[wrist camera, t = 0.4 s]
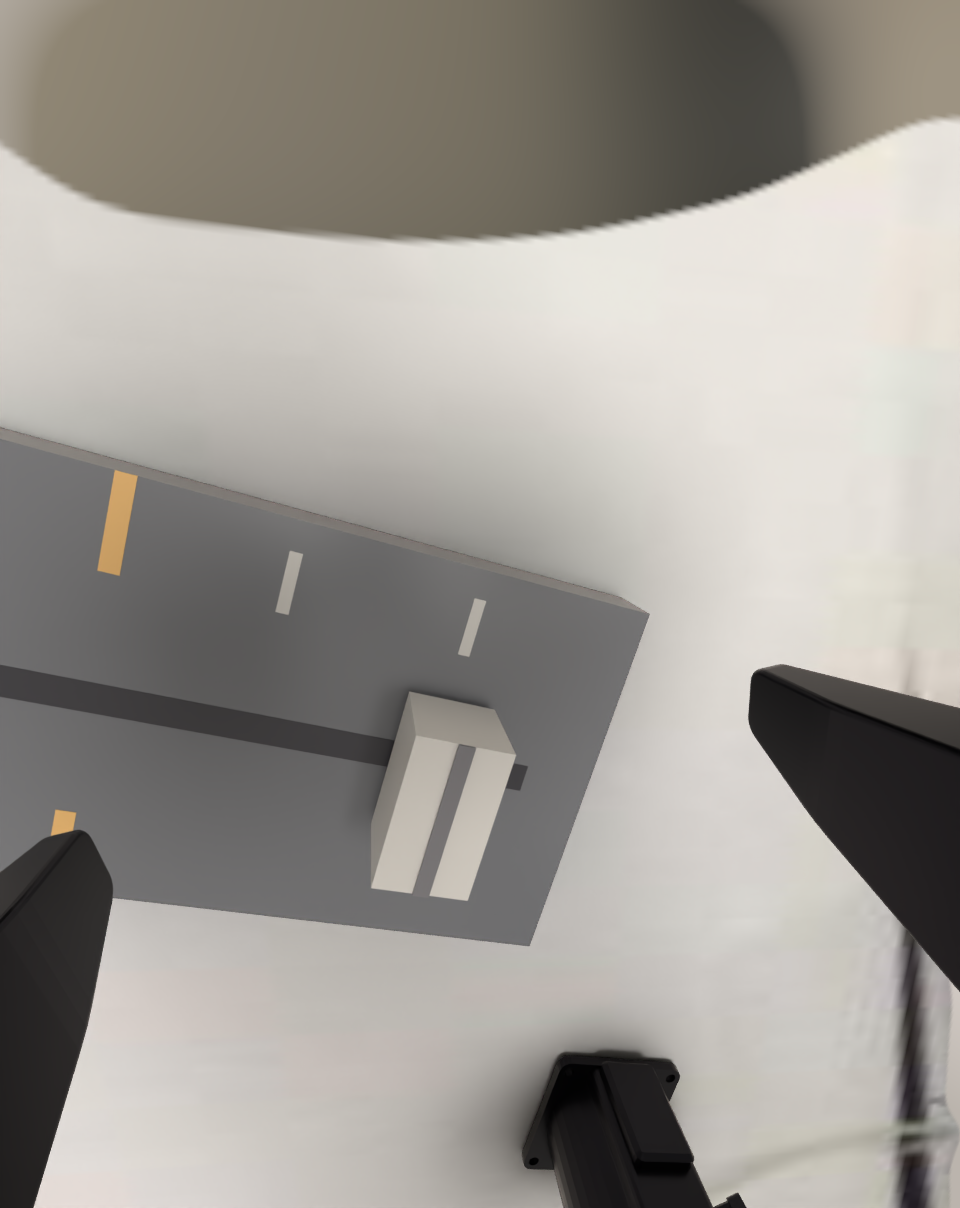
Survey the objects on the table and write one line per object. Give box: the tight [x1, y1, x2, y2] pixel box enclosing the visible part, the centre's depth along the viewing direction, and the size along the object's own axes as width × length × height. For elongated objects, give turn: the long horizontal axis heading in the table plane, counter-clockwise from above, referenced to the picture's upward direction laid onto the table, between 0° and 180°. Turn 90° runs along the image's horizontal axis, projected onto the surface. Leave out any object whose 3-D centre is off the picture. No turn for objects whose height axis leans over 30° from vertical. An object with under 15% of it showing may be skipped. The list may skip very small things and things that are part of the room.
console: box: [0, 428, 650, 946], centre depth 21 cm, size 14×24×2 cm, turn 74°
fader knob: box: [371, 691, 516, 901], centre depth 19 cm, size 5×3×3 cm, turn 164°
